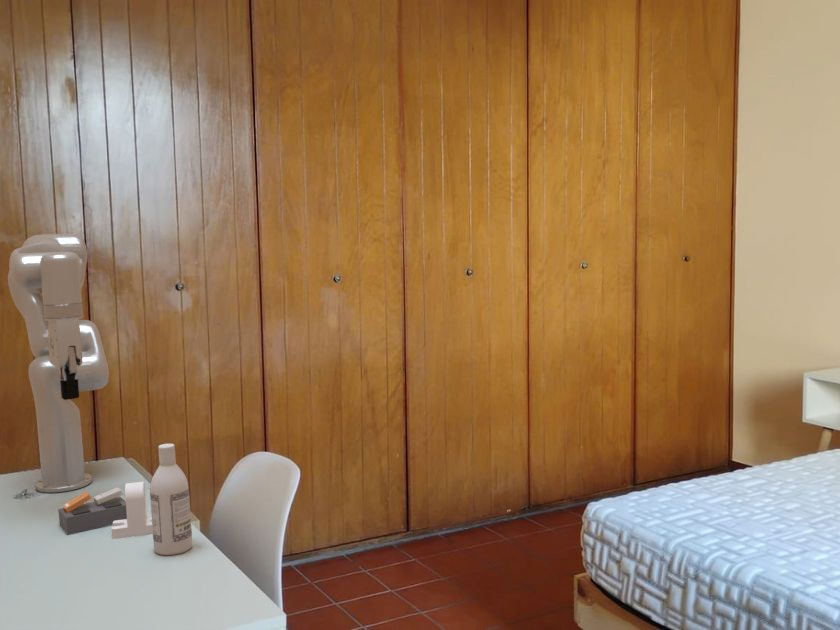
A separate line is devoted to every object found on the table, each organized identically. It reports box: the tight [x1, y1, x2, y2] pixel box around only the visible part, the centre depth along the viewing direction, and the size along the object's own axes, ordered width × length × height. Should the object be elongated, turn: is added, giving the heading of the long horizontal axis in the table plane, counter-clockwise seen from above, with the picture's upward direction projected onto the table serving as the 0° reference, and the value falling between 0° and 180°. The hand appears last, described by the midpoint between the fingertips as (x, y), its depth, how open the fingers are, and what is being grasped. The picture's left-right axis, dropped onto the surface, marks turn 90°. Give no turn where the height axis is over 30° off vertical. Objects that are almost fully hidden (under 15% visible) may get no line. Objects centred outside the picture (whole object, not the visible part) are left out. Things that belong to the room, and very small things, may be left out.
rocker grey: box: [93, 486, 124, 505], centre depth 176 cm, size 3×5×1 cm, turn 125°
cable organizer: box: [110, 481, 153, 540], centre depth 168 cm, size 5×10×10 cm, turn 106°
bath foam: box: [149, 443, 193, 556], centre depth 157 cm, size 7×7×20 cm
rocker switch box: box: [57, 495, 127, 536], centre depth 175 cm, size 10×12×4 cm
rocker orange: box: [62, 491, 92, 513], centre depth 173 cm, size 3×5×1 cm, turn 125°
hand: (70, 398), depth 178 cm, fingers closed
